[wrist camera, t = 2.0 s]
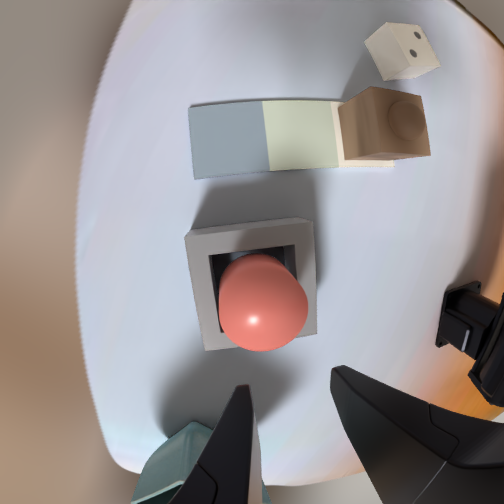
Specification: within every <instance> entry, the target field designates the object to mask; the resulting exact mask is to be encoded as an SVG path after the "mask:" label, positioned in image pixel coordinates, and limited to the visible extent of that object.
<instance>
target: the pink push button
mask: <svg viewBox="0 0 504 504" xmlns="http://www.w3.org/2000/svg"><path fill="white" fill-rule="evenodd" d="M307 316H308V300H307V296H306V293H305V291H304V289H303V288H302V286H301V285H300V284H299V283H298V281H297V280H296V279H295V278H294V277H293V276H292V274H291V273H290V272H289V271H288V270H287V269H286V267H285V266H284V265H283V264H282V263H281V262H280V261H279V260H277V259H276V258H274V257H272V256H270V255H267V254H262V253H251V254H246V255H243V256H241V257H239V258H237V259H235V260H234V261H233V262H231V263H230V264H229V265H228V266H227V268H226V269H225V270H224V272H223V274H222V276H221V279H220V284H219V320H220V324H221V326H222V329H223V331H224V333H225V334H226V335H227V337H228V338H229V339H230V340H231V341H232V342H234V343H235V344H236V345H238V346H240V347H242V348H244V349H247V350H251V351H270V350H274V349H277V348H280V347H282V346H284V345H286V344H287V343H289V342H290V341H292V340H293V339H294V338H295V337H296V336H297V335H298V334H299V333H300V331H301V330H302V328H303V327H304V324H305V322H306V319H307Z"/></svg>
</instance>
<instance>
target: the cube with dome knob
mask: <svg viewBox="0 0 504 504" xmlns="http://www.w3.org/2000/svg"><path fill="white" fill-rule="evenodd" d="M338 115H339V121H340V128H341V135H342V143H343V151H344V160H384V161H390V160H397V159H405V158H413V157H422V156H431V154H430V145H429V138H428V131H427V125H426V119H425V114H424V109H423V104H422V99H421V96H419V95H414V94H410V93H405V92H400V91H395V90H390V89H384V88H378V87H369V88H367V89H366V90H364V91H363V92H361V93H360V94H358V95H356V96H355V97H353V98H352V99H350V100H349V101H347V102H346V103H344V104H342V105H341V106H339V107H338Z"/></svg>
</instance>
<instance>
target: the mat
mask: <svg viewBox="0 0 504 504" xmlns="http://www.w3.org/2000/svg"><path fill="white" fill-rule="evenodd" d="M344 103H346V102H333V101H306V100H280V101H253V102H238V103H227V104H217V105H208V106H200V107H193V108H188V116H189V129H190V141H191V152H192V162H193V172H194V179H202V178H210V177H218V176H226V175H235V174H245V173H255V172H267V171H279V170H294V169H312V168H339V167H395V166H394V160H390V161H384V160H344V151H343V143H342V135H341V128H340V121H339V115H338V107H339V106H341V105H342V104H344Z"/></svg>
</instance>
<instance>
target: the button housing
mask: <svg viewBox="0 0 504 504" xmlns="http://www.w3.org/2000/svg"><path fill="white" fill-rule="evenodd" d="M184 239H185V246H186V252H187V259H188V265H189V271H190V277H191V282H192V288H193V294H194V299H195V304H196V310H197V315H198V320H199V325H200V330H201V334H202V339H203V344H204V348H205V351H210V350H219V349H227V348H235V347H240V346H238V345H236V344H235V343H234V342H232V341H231V340H230V339H229V338H228V337H227V335H226V334H225V333H224V331H223V329H222V326H221V324H220V320H219V301H218V295H217V288H216V282H215V275H214V268H213V261H212V255H214V254H222V253H230V252H238V251H246V250H254V249H262V248H270V247H278V246H284V257H285V267H286V269H287V270H288V271H289V272H290V273H291V274H292V276H293V277H294V278H295V279H296V280H297V281H298V283H299V284H300V285H301V286H302V288H303V289H304V291H305V293H306V296H307V300H308V316H307V319H306V322H305V324H304V327H303V328H302V330H301V331H300V333H299V334H298V335H297V336H296V337H295V338H299V337H304V336H309V335H314V334H317V295H316V267H315V246H314V230H313V222H312V221H309V220H306V219H303V218H300V217H292V218H283V219H274V220H265V221H256V222H247V223H239V224H231V225H222V226H215V227H207V228H199V229H192V230H190V231H189V232H188V233H187V234H186V236H185V237H184Z"/></svg>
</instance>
